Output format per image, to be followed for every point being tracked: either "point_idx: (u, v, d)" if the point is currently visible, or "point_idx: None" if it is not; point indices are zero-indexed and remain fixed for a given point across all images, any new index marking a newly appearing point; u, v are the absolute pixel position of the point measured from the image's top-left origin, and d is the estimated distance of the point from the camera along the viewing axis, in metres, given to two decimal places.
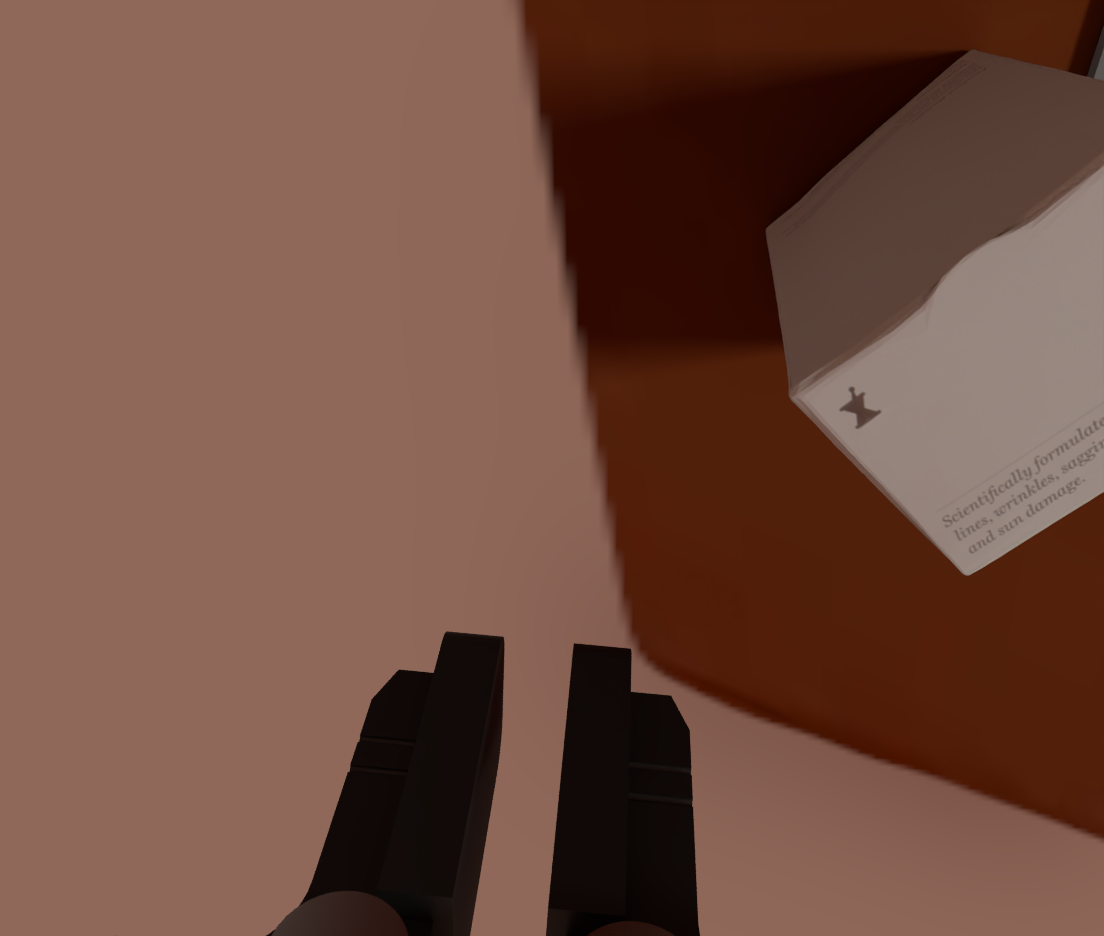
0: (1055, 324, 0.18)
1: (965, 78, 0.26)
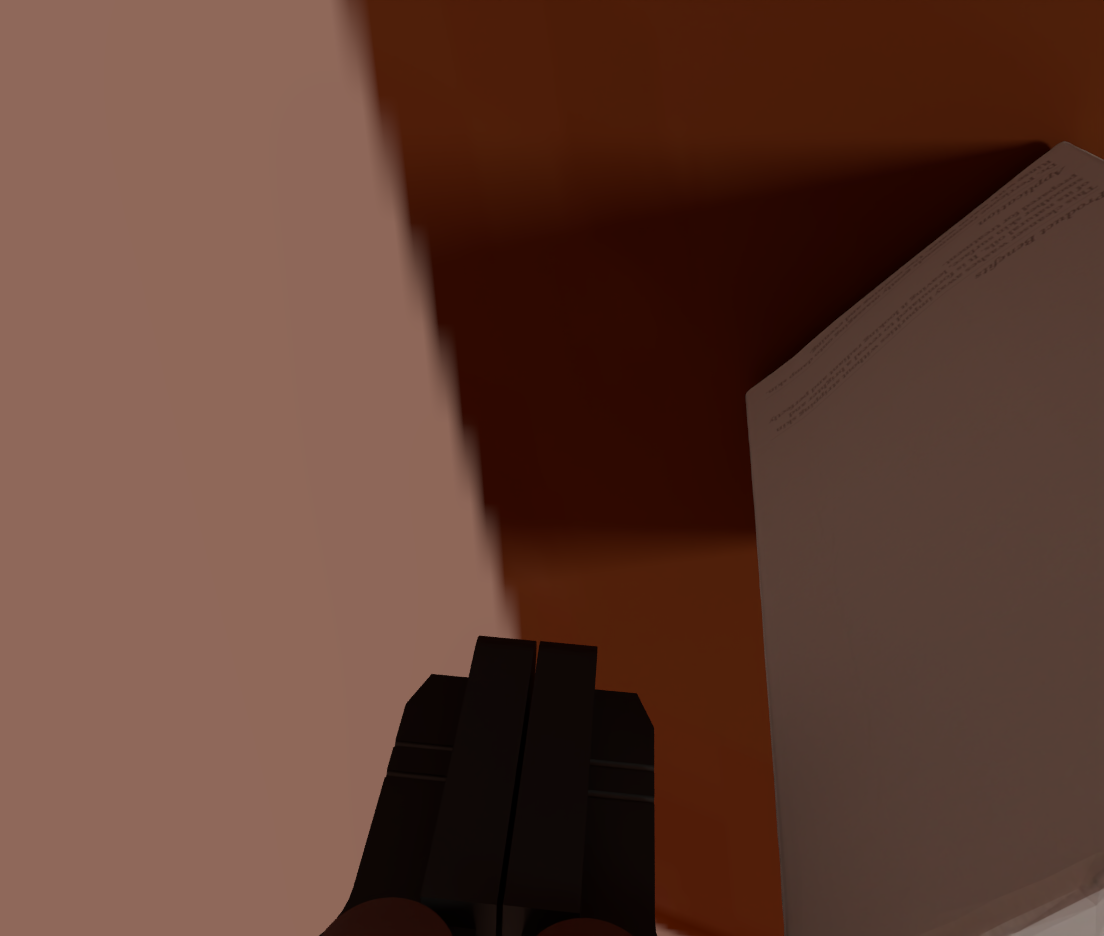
0: None
1: (1066, 205, 0.16)
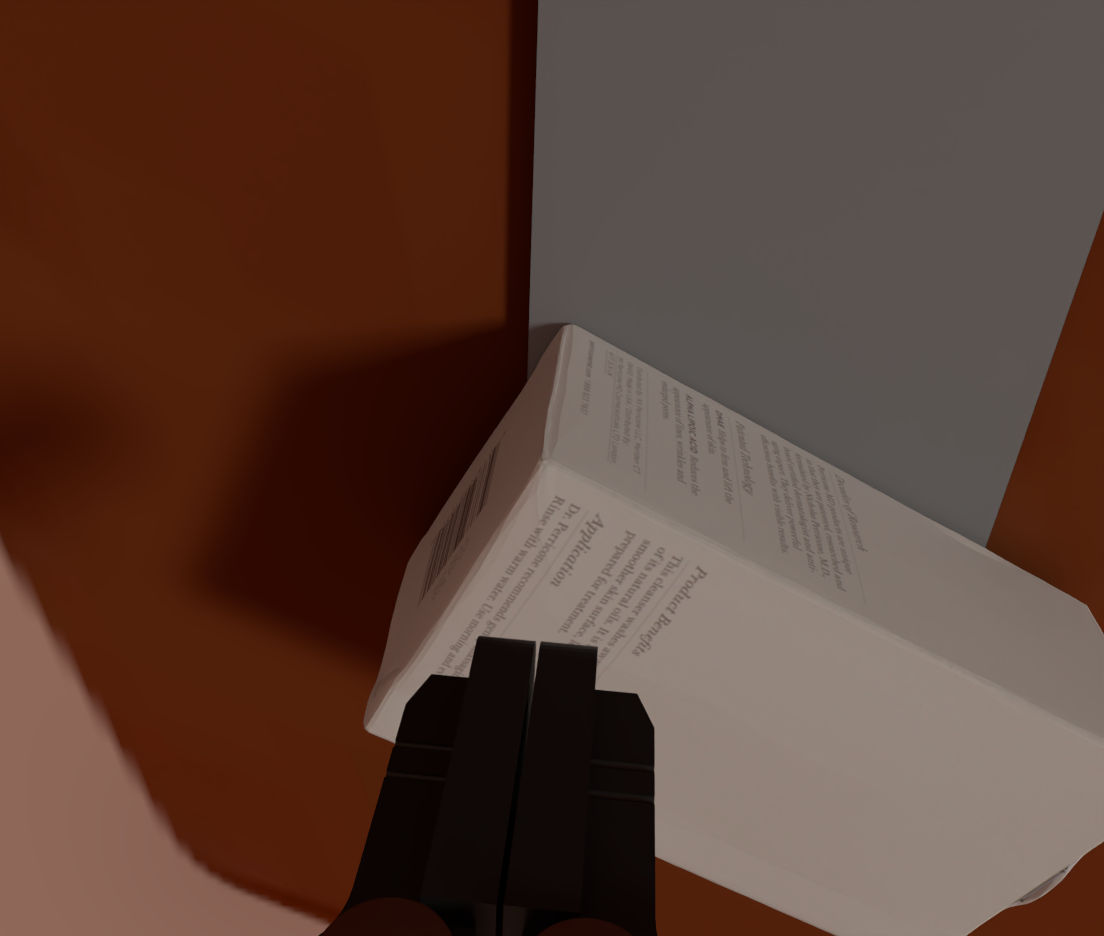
0: None
1: (665, 578, 0.17)
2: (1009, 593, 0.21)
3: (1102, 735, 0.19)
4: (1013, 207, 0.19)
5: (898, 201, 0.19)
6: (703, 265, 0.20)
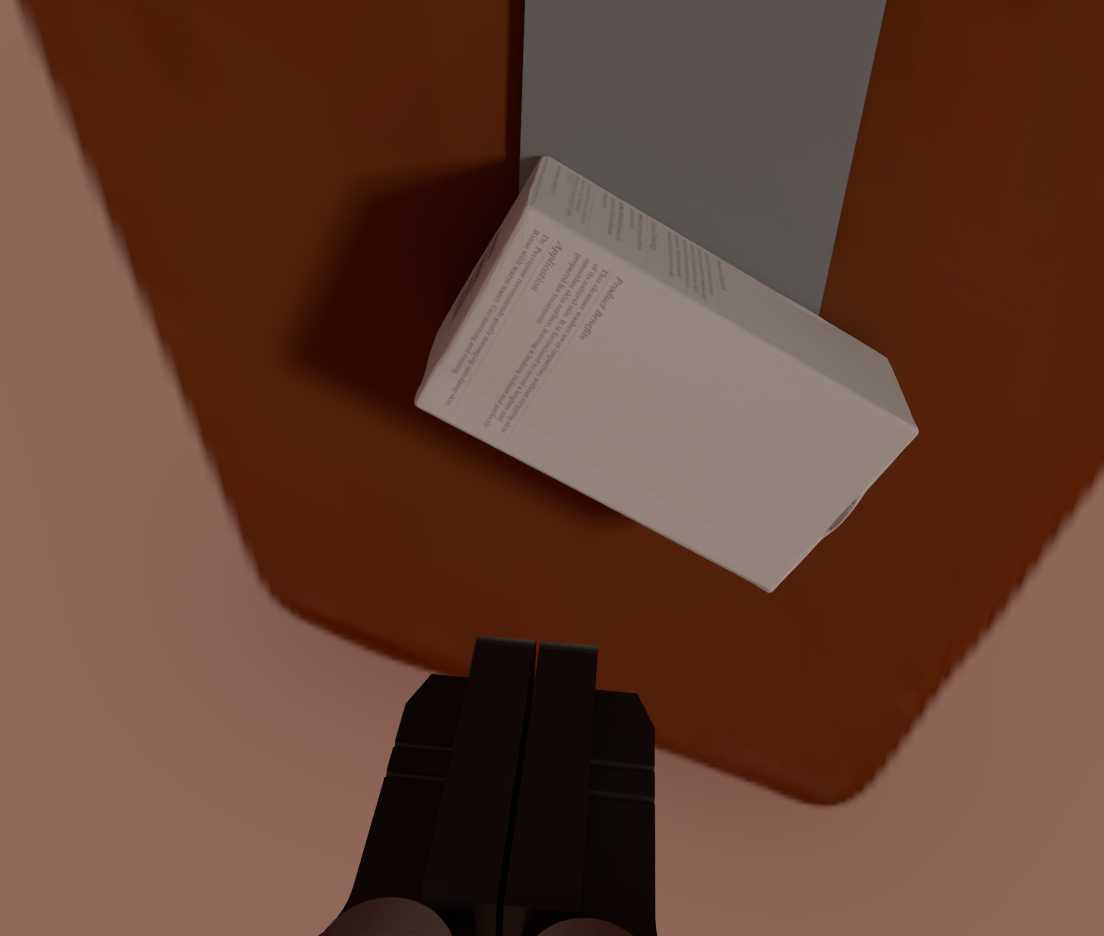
0: None
1: (598, 284, 0.29)
2: (826, 334, 0.34)
3: (865, 397, 0.31)
4: (815, 77, 0.31)
5: (746, 73, 0.31)
6: (629, 116, 0.32)
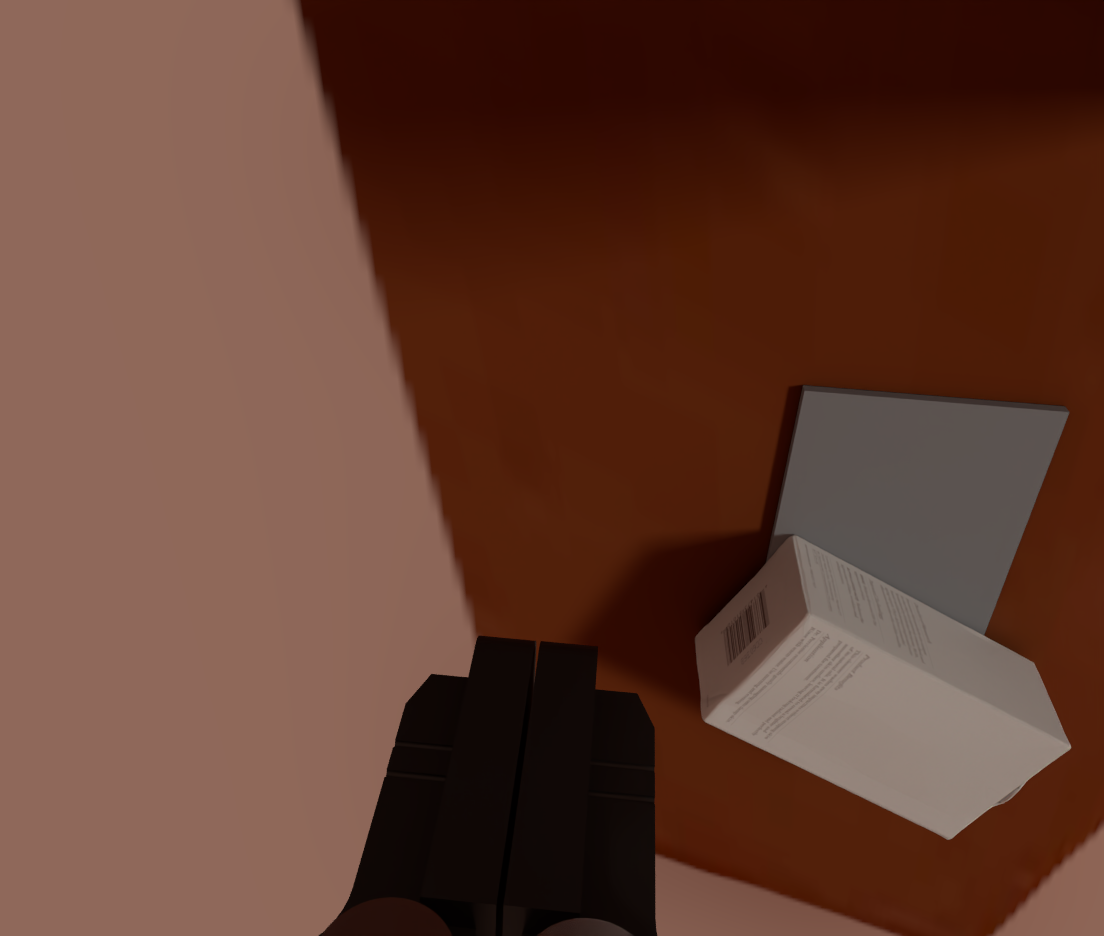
0: None
1: (852, 659, 0.41)
2: (995, 659, 0.46)
3: (1033, 725, 0.43)
4: (997, 495, 0.43)
5: (947, 491, 0.43)
6: (858, 513, 0.44)
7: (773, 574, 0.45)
